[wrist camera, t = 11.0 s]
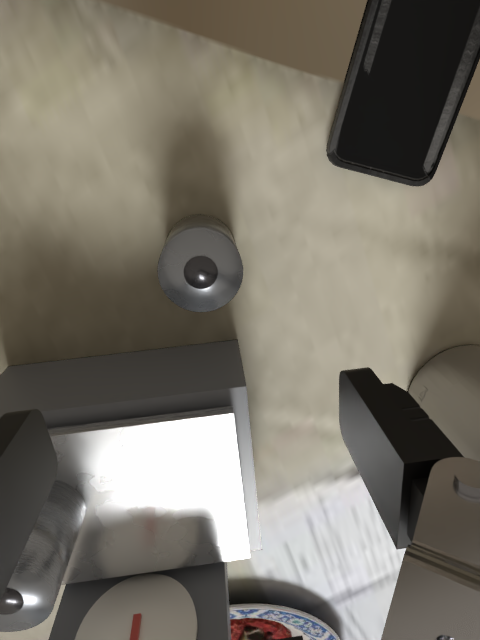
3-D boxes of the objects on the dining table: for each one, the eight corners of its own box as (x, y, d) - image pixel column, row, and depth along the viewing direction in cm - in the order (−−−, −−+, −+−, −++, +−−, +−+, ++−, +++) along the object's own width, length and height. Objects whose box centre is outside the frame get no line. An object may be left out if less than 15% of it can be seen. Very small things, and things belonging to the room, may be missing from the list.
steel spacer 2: (231, 210, 28) (239, 225, 23) (238, 278, 30) (246, 307, 25) (160, 218, 28) (150, 234, 22) (171, 286, 30) (165, 317, 24)
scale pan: (232, 405, 26) (233, 413, 25) (249, 548, 31) (250, 557, 30) (-25, 437, 25) (-32, 446, 24) (35, 578, 30) (31, 588, 29)
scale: (237, 339, 32) (267, 497, 17) (254, 505, 39) (285, 718, 24) (8, 366, 31) (-165, 555, 17) (67, 531, 38) (-18, 767, 24)
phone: (533, -80, 23) (429, 189, 28) (518, -70, 24) (421, 188, 29) (408, -131, 22) (323, 162, 27) (398, -117, 23) (319, 162, 28)
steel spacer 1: (74, 472, 26) (37, 561, 20) (93, 529, 27) (64, 625, 22) (-5, 483, 25) (-65, 575, 20) (19, 540, 27) (-30, 639, 22)
